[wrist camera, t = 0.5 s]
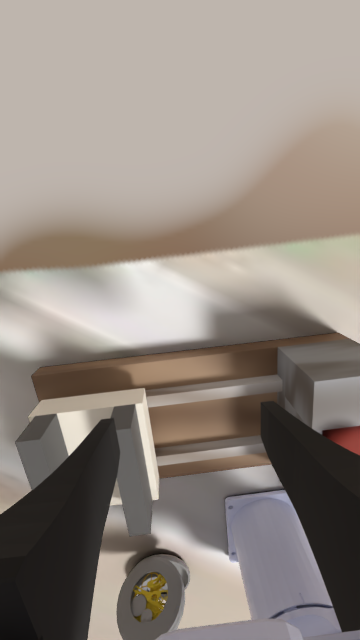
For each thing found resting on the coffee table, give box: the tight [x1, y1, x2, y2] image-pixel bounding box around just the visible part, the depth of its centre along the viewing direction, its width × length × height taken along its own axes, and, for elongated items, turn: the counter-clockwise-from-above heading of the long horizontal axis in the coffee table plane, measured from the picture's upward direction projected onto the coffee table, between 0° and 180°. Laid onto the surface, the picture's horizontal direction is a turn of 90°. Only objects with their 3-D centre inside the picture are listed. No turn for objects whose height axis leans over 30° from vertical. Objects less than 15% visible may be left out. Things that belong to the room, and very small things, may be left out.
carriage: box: [15, 388, 159, 536], centre depth 19 cm, size 9×8×4 cm
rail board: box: [31, 333, 360, 478], centre depth 21 cm, size 12×26×7 cm, turn 96°
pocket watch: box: [117, 554, 190, 640], centre depth 25 cm, size 8×8×10 cm
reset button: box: [322, 426, 360, 455], centre depth 18 cm, size 4×4×4 cm
